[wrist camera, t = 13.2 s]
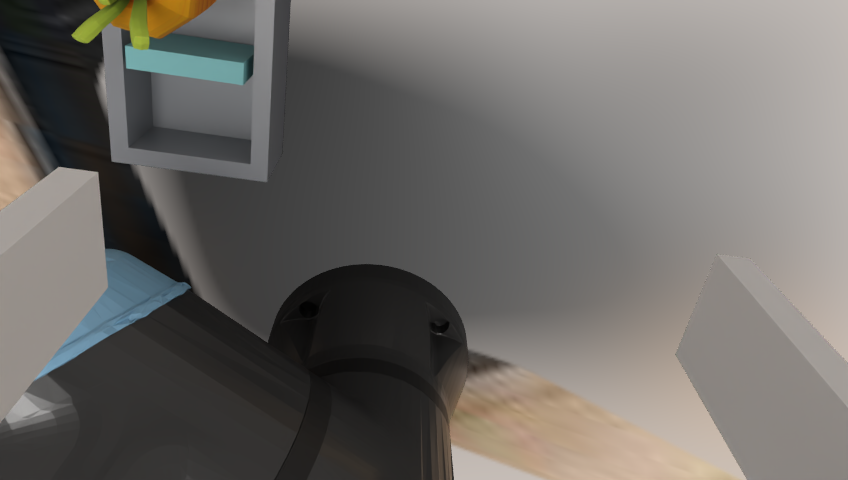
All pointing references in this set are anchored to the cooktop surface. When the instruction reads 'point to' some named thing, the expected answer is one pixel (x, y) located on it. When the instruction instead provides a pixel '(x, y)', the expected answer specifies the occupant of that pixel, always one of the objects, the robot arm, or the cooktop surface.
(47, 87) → the cooktop surface
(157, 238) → the cooktop surface
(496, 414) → the cooktop surface
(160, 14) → the carrot
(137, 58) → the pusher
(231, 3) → the grey open box
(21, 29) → the cooktop surface
